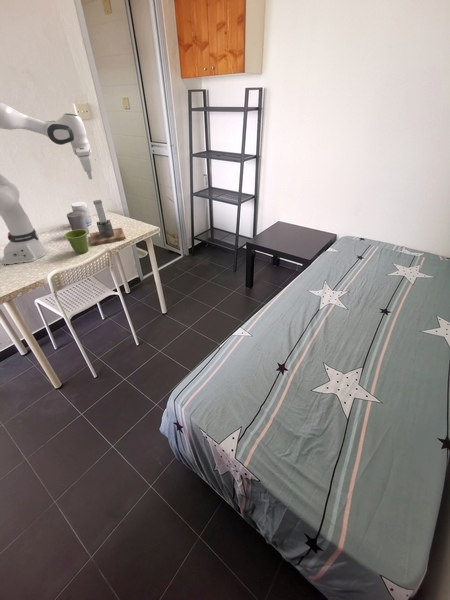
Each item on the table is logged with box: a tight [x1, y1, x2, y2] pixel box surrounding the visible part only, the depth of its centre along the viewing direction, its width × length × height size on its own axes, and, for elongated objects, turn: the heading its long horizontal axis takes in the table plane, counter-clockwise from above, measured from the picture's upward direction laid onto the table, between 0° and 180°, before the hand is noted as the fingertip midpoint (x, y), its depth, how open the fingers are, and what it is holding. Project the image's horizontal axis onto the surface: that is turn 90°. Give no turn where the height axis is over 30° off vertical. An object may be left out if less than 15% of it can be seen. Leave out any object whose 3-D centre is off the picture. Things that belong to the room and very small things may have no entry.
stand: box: [89, 219, 127, 247], centre depth 177 cm, size 20×16×11 cm
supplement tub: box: [70, 201, 93, 227], centre depth 196 cm, size 10×10×15 cm
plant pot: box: [64, 229, 89, 255], centre depth 162 cm, size 12×12×11 cm
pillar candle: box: [66, 211, 90, 235], centre depth 182 cm, size 10×10×15 cm
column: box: [92, 199, 108, 225], centre depth 173 cm, size 5×5×21 cm
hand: (90, 177), depth 159 cm, fingers open, 8 cm apart
